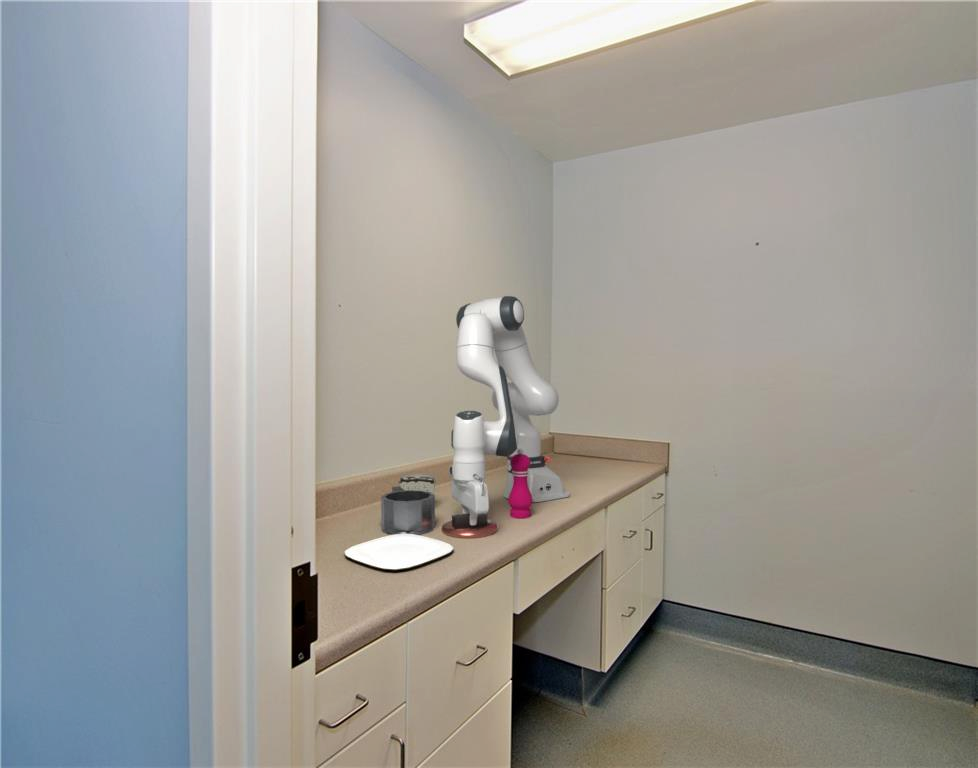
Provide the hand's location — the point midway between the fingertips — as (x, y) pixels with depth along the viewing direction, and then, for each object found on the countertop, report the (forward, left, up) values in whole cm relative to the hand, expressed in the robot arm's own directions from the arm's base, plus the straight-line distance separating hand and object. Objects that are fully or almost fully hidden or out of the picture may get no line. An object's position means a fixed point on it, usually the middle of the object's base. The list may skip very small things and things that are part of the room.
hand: (469, 522), depth 151 cm
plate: (+22, +12, -3) cm, 25 cm away
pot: (+15, -12, -2) cm, 19 cm away
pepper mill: (-19, -8, -2) cm, 21 cm away
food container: (+6, -30, -2) cm, 31 cm away
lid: (0, 0, -2) cm, 2 cm away
